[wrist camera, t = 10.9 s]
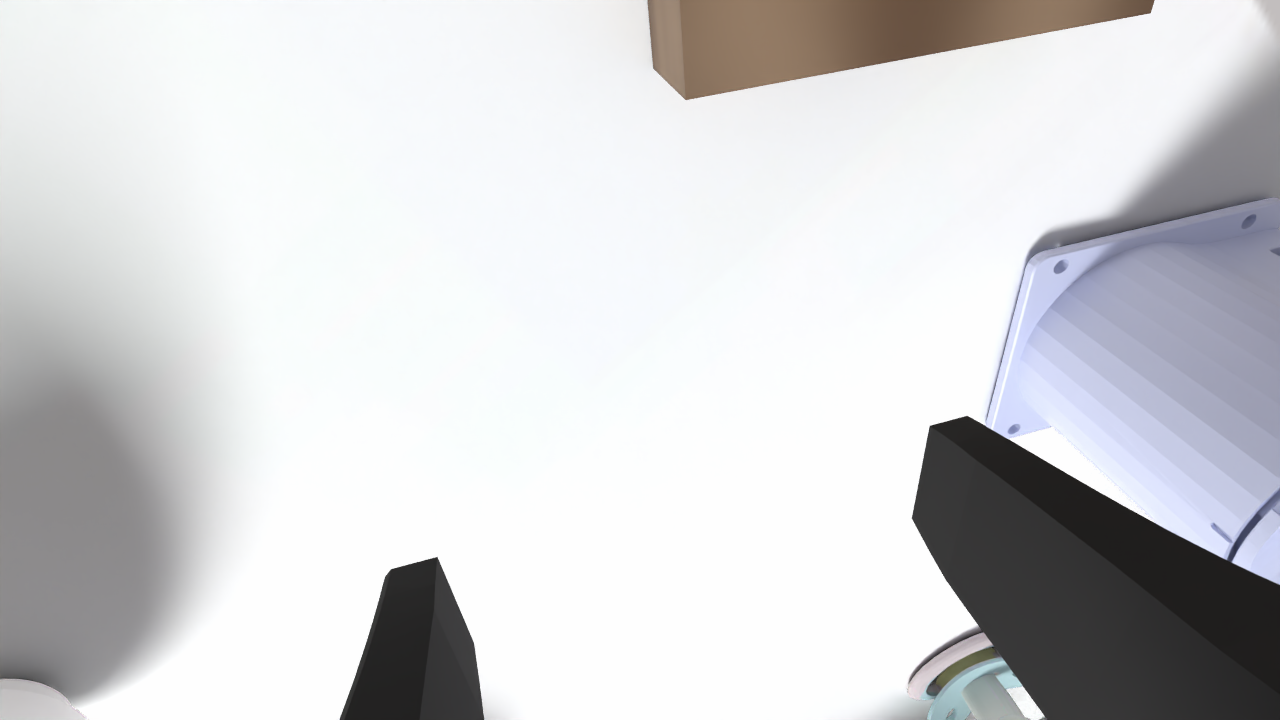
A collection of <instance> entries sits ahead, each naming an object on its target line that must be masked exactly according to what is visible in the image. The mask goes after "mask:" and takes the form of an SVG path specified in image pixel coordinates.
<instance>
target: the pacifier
mask: <svg viewBox="0 0 1280 720" xmlns="http://www.w3.org/2000/svg"><path fill="white" fill-rule="evenodd" d="M989 647H993V644H992V643H991V642H990V640H989V639H988V638H987V636H986V635H985V634H984V632H982V633H979V634H976V635H974V636H972V637H969V638H967V639H965V640H963V641H960V642H959V643H957V644H955V645H953V646H951V647H950V648H948V649H946V650H945V651H943V652H942V653H940V654H939V655H937V656H936V657H934V658H933V659H932V660H930V661H929V662H928V663H927V664H925V665H924V666H923V667H922V668H921V669H920V670H919V671H918V672H917V673H916V674H915V676H914V677H913V678H912V680H911V681H910V683H909V686H908V689H907V692H908V694H909V697H911V698H913V699H915V700H930V699H935V700H934V701H933V703H932V705H931V708H930V710H929V713H928V716H927V720H965V719H966V718H967V717H968V715H969V714H970V713H971V712H972V714H973V715H974V717H975V718H976V720H1030V719H1028V718H1026V717H1024V715H1023V714H1022V712H1021V711H1020V709H1019V708H1018V706H1017V705H1016V703H1015V702H1014V700H1013V699H1012V698H1011V696H1010V695H1009V693H1008V692H1007V691H1006V689H1009V688H1015V687H1021V686H1023V685H1022V684H1021V683H1020V681H1019V680H1018V679H1017V677H1016V676H1015V675H1014V673H1013V672H1012V670H1011V669H1010V668H1009V666H1008V665H1007V664H1006V662H1005V661H1004V660H1003V658H1002V657H1001V655H1000V654H999V653H998V651H997V650H996V649H993V648H989ZM985 648H988V649H985ZM958 660H959V661H958ZM953 663H954V664H953ZM950 665H951V666H950ZM949 666H950V667H949ZM947 667H948V668H947ZM946 668H947V669H946ZM945 669H946V670H945ZM944 670H945V671H944ZM942 671H944V672H942ZM941 672H942V673H941ZM940 673H941V675H940V676H939V677H938V678H937V680H936V684H934V685H929V684H930V683H931V682H932V681H933V680H934V679H935V678H936V677H937V676H938V675H939V674H940ZM952 709H954V710H953V712H952V714H951V715H950V716H949V717H948V718H947V715H948V713H949V712H950V711H951V710H952Z"/></svg>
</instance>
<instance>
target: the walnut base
mask: <svg viewBox="0 0 1280 720" xmlns="http://www.w3.org/2000/svg"><path fill="white" fill-rule="evenodd" d="M1153 3H1154V0H648V11H649V23H650V35H651V47H652V58H653V69H654V70H655V71H657V72H658V73H659V74H660V75H661V76H662V77H663V78H664V79H665V80H666V81H667V82H668V83H669V84H670V85H671V86H672V87H673V88H674V89H675V90H676V91H677V92H678V93H679V94H680V95H681V96H682V97H683V98H684V99H685V100H688V99H694V98H699V97H704V96H710V95H715V94H721V93H726V92H731V91H737V90H742V89H747V88H753V87H758V86H763V85H769V84H774V83H779V82H785V81H790V80H795V79H801V78H806V77H812V76H817V75H822V74H828V73H833V72H838V71H844V70H849V69H854V68H860V67H865V66H870V65H876V64H881V63H886V62H892V61H897V60H902V59H908V58H913V57H919V56H924V55H929V54H935V53H940V52H945V51H951V50H956V49H961V48H967V47H972V46H977V45H983V44H988V43H993V42H999V41H1004V40H1009V39H1015V38H1020V37H1026V36H1031V35H1036V34H1042V33H1047V32H1052V31H1058V30H1063V29H1068V28H1074V27H1079V26H1084V25H1090V24H1095V23H1100V22H1106V21H1111V20H1116V19H1122V18H1127V17H1133V16H1138V15H1143V14H1149V13H1151V10H1152V7H1153Z"/></svg>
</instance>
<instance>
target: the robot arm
mask: <svg viewBox="0 0 1280 720" xmlns="http://www.w3.org/2000/svg"><path fill="white" fill-rule="evenodd" d="M1279 226H1280V199H1278V198H1276V197H1271V198H1267V199H1262V200H1258V201H1254V202H1250V203H1245V204H1241V205H1237V206H1233V207H1228V208H1224V209H1220V210H1216V211H1211V212H1207V213H1203V214H1199V215H1194V216H1190V217H1186V218H1181V219H1177V220H1173V221H1169V222H1164V223H1160V224H1156V225H1152V226H1147V227H1143V228H1139V229H1135V230H1130V231H1126V232H1122V233H1118V234H1113V235H1109V236H1105V237H1100V238H1096V239H1092V240H1088V241H1083V242H1079V243H1075V244H1071V245H1066V246H1062V247H1058V248H1054V249H1049V250H1045V251H1042V252H1039V253H1037V254H1036V255H1034V256H1033V257H1032V258H1031V259H1030V260H1029V262H1028V264H1027V266H1026V269H1025V273H1024V277H1023V281H1022V285H1021V289H1020V292H1019V296H1018V300H1017V304H1016V308H1015V312H1014V316H1013V320H1012V324H1011V328H1010V332H1009V335H1008V339H1007V343H1006V347H1005V351H1004V355H1003V359H1002V363H1001V367H1000V371H999V375H998V378H997V382H996V386H995V390H994V394H993V398H992V402H991V406H990V410H989V414H988V418H987V421H986V425H983V424H981V423H979V422H977V421H976V420H974V419H972V418H970V417H968V416H965V417H961V418H958V419H954V420H950V421H946V422H943V423H939V424H935V425H931V426H930V428H929V433H928V438H927V443H926V448H925V453H924V459H923V464H922V469H921V474H920V479H919V484H918V490H917V495H916V500H915V505H914V510H913V515H912V519H913V521H914V523H915V525H916V527H917V529H918V531H919V532H920V534H921V536H922V538H923V540H924V542H925V544H926V546H927V547H928V549H929V551H930V553H931V555H932V556H933V558H934V560H935V562H936V563H937V565H938V567H939V569H940V570H941V572H942V574H943V576H944V577H945V579H946V581H947V582H948V583H949V585H950V586H951V588H952V589H953V591H954V592H955V593H956V595H957V596H958V598H959V599H960V600H961V602H962V603H963V605H964V606H965V607H966V609H967V610H968V611H969V613H970V614H971V616H972V617H973V618H974V620H975V621H976V623H977V624H978V625H979V627H980V628H981V629H982V631H983V632H984V634H985V635H986V636H987V638H988V639H989V640H990V642H991V643H992V644H993V646H994V647H995V649H996V650H997V651H998V653H999V654H1000V655H1001V657H1002V658H1003V660H1004V661H1005V662H1006V664H1007V665H1008V666H1009V668H1010V669H1011V670H1012V672H1013V673H1014V675H1015V676H1016V677H1017V679H1018V680H1019V681H1020V683H1021V684H1022V685H1023V687H1024V688H1025V690H1026V691H1027V692H1028V694H1029V695H1030V696H1031V698H1032V699H1033V701H1034V702H1035V703H1036V705H1037V706H1038V707H1039V709H1040V710H1041V711H1042V713H1043V714H1044V716H1045V717H1046V719H1047V720H1280V229H1278V228H1279ZM1049 427H1053V428H1054V429H1055V430H1056V431H1057V432H1058V433H1059V434H1060V435H1061V436H1063V437H1064V438H1065V439H1066V440H1067V441H1068V442H1069V443H1070V444H1071V445H1072V446H1073V447H1074V448H1075V449H1077V450H1078V451H1079V452H1080V453H1081V454H1082V455H1083V456H1084V457H1085V458H1086V459H1087V460H1088V461H1089V462H1091V463H1092V464H1093V465H1094V466H1095V467H1096V468H1097V469H1098V470H1099V471H1100V472H1101V473H1102V474H1103V475H1105V476H1106V477H1107V478H1108V479H1109V480H1110V481H1111V482H1112V483H1113V484H1114V485H1115V486H1116V487H1117V488H1119V489H1120V490H1121V491H1122V492H1123V493H1124V494H1125V495H1126V496H1127V497H1128V498H1129V499H1130V500H1131V501H1133V502H1134V503H1135V504H1136V505H1137V506H1138V507H1139V508H1140V509H1141V510H1142V511H1143V512H1144V513H1145V514H1147V515H1148V516H1149V517H1150V518H1151V519H1152V520H1153V521H1154V522H1155V523H1154V522H1152V521H1150V520H1148V519H1146V518H1144V517H1143V516H1141V515H1139V514H1137V513H1135V512H1133V511H1132V510H1130V509H1128V508H1126V507H1124V506H1123V505H1121V504H1119V503H1117V502H1115V501H1114V500H1112V499H1110V498H1108V497H1107V496H1105V495H1103V494H1101V493H1099V492H1098V491H1096V490H1094V489H1092V488H1091V487H1089V486H1087V485H1085V484H1084V483H1082V482H1080V481H1079V480H1077V479H1075V478H1073V477H1072V476H1070V475H1068V474H1066V473H1065V472H1063V471H1061V470H1060V469H1058V468H1056V467H1055V466H1053V465H1051V464H1049V463H1048V462H1046V461H1044V460H1043V459H1041V458H1039V457H1038V456H1036V455H1034V454H1032V453H1031V452H1029V451H1027V450H1026V449H1024V448H1022V447H1021V446H1019V445H1017V444H1015V443H1014V442H1012V441H1010V440H1009V438H1013V437H1016V436H1020V435H1024V434H1027V433H1031V432H1035V431H1038V430H1042V429H1046V428H1049ZM340 720H484V715H483V707H482V699H481V691H480V683H479V676H478V669H477V662H476V655H475V647H474V642H473V640H472V637H471V635H470V633H469V630H468V628H467V626H466V623H465V621H464V619H463V616H462V614H461V612H460V609H459V607H458V605H457V602H456V600H455V597H454V595H453V593H452V590H451V588H450V586H449V583H448V581H447V579H446V576H445V574H444V572H443V569H442V567H441V565H440V562H439V560H438V557H436V558H432V559H428V560H424V561H421V562H417V563H413V564H409V565H406V566H402V567H398V568H394V569H391V570H390V571H389V573H388V574H387V575H386V577H385V579H384V583H383V587H382V591H381V595H380V598H379V602H378V606H377V609H376V613H375V616H374V619H373V623H372V626H371V629H370V633H369V636H368V639H367V642H366V645H365V649H364V652H363V655H362V658H361V661H360V664H359V667H358V670H357V673H356V676H355V679H354V682H353V684H352V687H351V690H350V693H349V695H348V698H347V701H346V703H345V706H344V709H343V712H342V714H341V717H340Z"/></svg>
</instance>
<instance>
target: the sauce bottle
mask: <svg viewBox="0 0 1280 720" xmlns="http://www.w3.org/2000/svg"><path fill="white" fill-rule="evenodd" d="M0 720H89V719H88V718H87V717H86V716H84V715H83V714H82V713H81V712H80V711H79V710H77V709H75V708H74V707H72V705H71V703H70V702H69V701H68V699H67V698H66V697H65V696H64V695H62V694H61V693H60V692H58V691H57V690H55V689H53V688H52V687H49V686H47V685H44V684H42V683H38V682H34V681H30V680H23V679H0Z"/></svg>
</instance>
